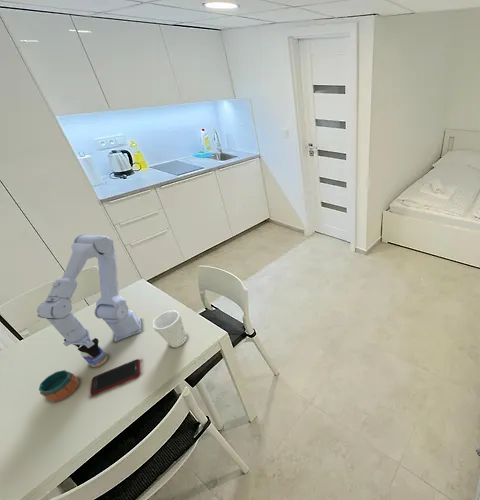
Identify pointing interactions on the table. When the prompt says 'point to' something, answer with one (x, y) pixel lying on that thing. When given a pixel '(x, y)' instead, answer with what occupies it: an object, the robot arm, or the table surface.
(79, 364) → the table surface
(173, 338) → the foam cup
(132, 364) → the cell phone
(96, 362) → the pill bottle
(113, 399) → the table surface
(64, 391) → the orange and teal bowl
